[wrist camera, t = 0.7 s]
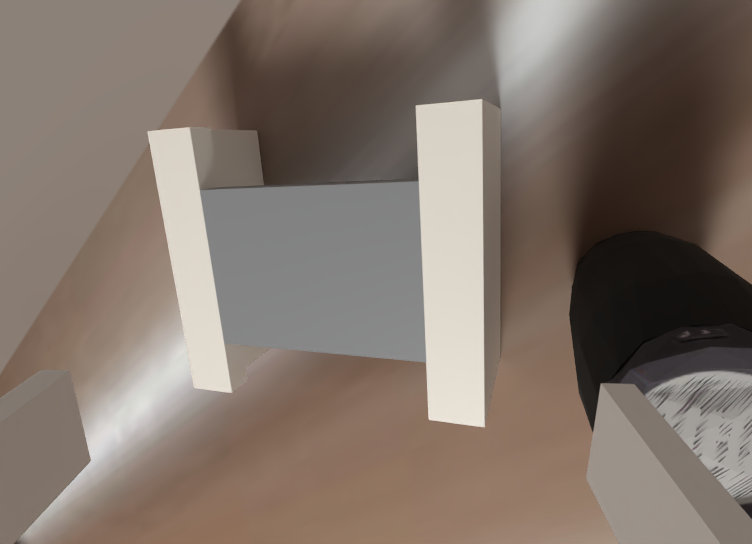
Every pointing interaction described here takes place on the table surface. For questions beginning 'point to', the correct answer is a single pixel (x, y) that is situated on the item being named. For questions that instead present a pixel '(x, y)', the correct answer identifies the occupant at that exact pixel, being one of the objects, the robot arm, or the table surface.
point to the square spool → (342, 257)
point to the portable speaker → (671, 344)
